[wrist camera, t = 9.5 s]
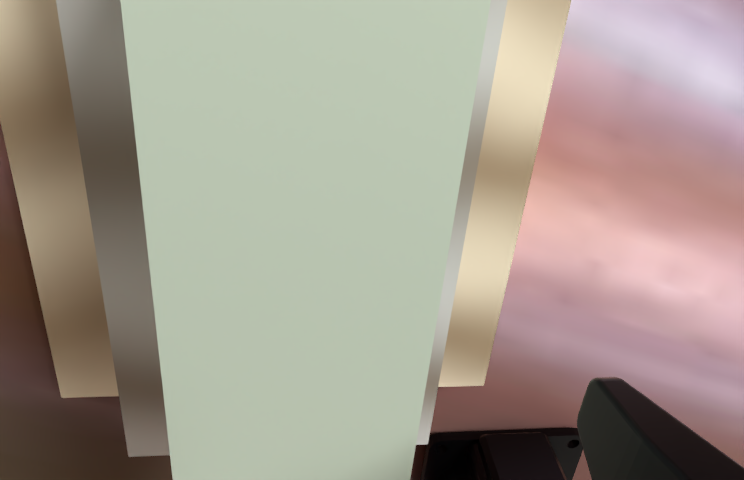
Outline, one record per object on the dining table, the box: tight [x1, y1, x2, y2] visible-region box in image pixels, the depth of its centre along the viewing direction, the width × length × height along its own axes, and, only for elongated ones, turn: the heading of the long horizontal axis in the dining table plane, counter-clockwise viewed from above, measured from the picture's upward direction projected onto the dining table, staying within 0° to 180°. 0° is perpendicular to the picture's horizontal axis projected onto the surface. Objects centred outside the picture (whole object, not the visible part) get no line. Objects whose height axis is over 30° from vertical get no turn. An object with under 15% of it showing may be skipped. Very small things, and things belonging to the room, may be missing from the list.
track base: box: [0, 0, 571, 457], centre depth 17 cm, size 18×14×4 cm
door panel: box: [120, 0, 491, 480], centre depth 14 cm, size 14×4×9 cm, turn 175°
